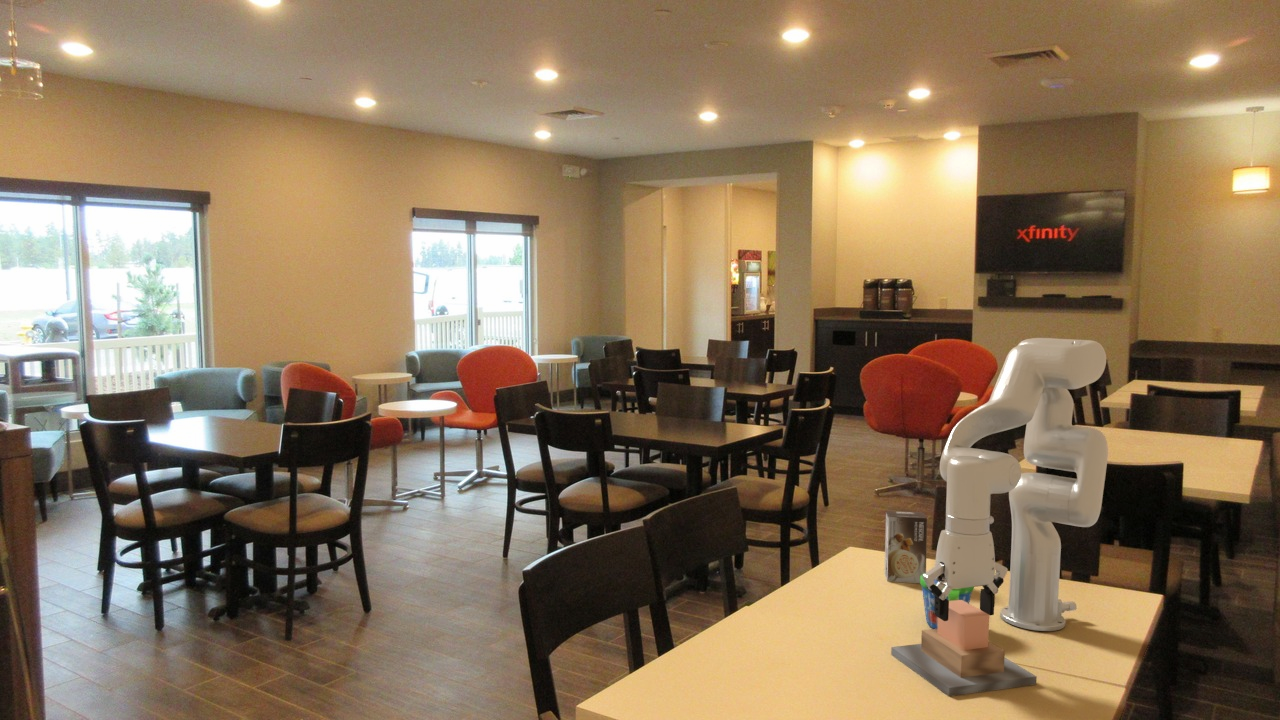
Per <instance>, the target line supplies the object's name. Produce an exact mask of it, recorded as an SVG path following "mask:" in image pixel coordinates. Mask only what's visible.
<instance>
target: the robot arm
mask: <svg viewBox="0 0 1280 720" xmlns="http://www.w3.org/2000/svg"><path fill="white" fill-rule="evenodd" d="M1106 365H1107V354H1106V351H1105V349H1104V347H1103V345H1101V343H1099V342H1098V341H1096V340H1091V339H1090V340H1089V339H1072V338H1071V339H1069V338H1056V337H1055V338H1054V337H1034V338H1033V337H1032V338H1026V339H1024V340H1022V341H1020V342H1019V343H1018V344H1017V345H1016V346H1014V347H1013V348H1011V349H1010V351H1009V352H1008V353H1007V355H1006V357H1005V360H1004V362H1003V366H1002V368H1001V369H1000V373H999V375H998V377H997V380H996V383H995V385H994V387H993V389H992V392H991V394H990V397H989V400H988V401H987V402H986V403H984V404H982V405H980V406H978V407H977V408H974V410H972V411H970V412H969V413H968V414H967V415H966V416H964V417H963V418H961V419H960V420H959V421H958V422H957V423H956V424H955V425H954V427H953V428H952V430H951V432H950V434H949V435H948V438H947V441H946V443H945V446H944V447H943V450H942V452H941V457H940V461H939V473H940V477H941V478H942V480H944V481H945V482H946V498H945V499H946V501H945V525H944V526H945V529H942V530H941V531H940V534H939V537H938V542H937V547H936V553H935V554H936V555H935V562H934V567H932V568H930V569H929V570H928V571H926V573H925V574H924V575H923V579H924V581H925V584H926V585H927V588H928V589H929V590H930V592H931V593H932V594H933V595H934V596H935V604H934V612H935V616H937V617H938V618H940V619H942V620H943V621H948V615H949V600H947V599H946V597H947V596H948V595H949V593H950V592H951V590H952V589H959V588H968V587H974V588H976V587H981V586H982V588H981V589H980V594H979V595H980V596H979V609H980V610H982V611H983V612H985V613H987V614H989V616H994V614H995V601H996V597H995V595H997V594H998V593H999V588H1000V587H1001V586H1002V585H1003V584H1004V582H1005V581H1004V579H1005V577H1006V575H1007V573H1008V570H1009V569H1008V568H1007V566H1004V565H1002V564H1001V563H998V562H996V559H995V558H996V555H995V546H994V545H995V543H994V539H993V535H992V534H993V533H992V531H990V525H992V524H993V523H994V521H995V519H994V516H992V515H991V495H993V494H997V495H998V494H1006V493H1008V501H1009V507H1010V514H1011V544H1010V545H1011V546H1010V547H1011V548H1010V549H1011V550H1010V566H1009V567H1010V570H1009V589H1008V591H1009V592H1008V605H1007V606H1004V607H1003V608H1001V609H1000V618H1001V619H1002V620H1003V621H1004V622H1005V623H1007V624H1010V625H1013V626H1014V627H1018V628H1021V629H1023V630H1024V629H1025V630H1030V631H1037V632H1038V631H1040V632H1055V631H1059V630H1061V629H1064V628H1065V626H1066V619H1065V617H1064V616H1063V613H1065V612H1071V611H1072V612H1073V611H1076V610H1077V604H1076V603H1075V602H1076V601H1073V600H1071V601H1070V600H1069V601H1064V602H1063V601H1062V599H1060V598H1059V591H1060V588H1059V587H1060V570H1061V551H1062V550H1061V549H1062V543H1061V537H1060V535H1059V533H1058V531H1057V529H1056V528H1055V526H1054V524H1053V523H1056V524H1057V523H1058V524H1062V525H1068V526H1074V527H1081V528H1090V527H1092V526H1094V525H1095V524H1096V523H1097V522H1098V520H1099V517H1100V514H1101V511H1102V504H1103V497H1104V496H1103V495H1104V489H1105V481H1106V475H1107V474H1106V473H1107V466H1108V465H1107V464H1108V454H1109V447H1108V441H1107V438H1106V436H1105V434H1104V433H1103V432H1102V431H1101V430H1099V429H1098V428H1095V427H1089V426H1082V425H1080V426H1079V425H1073V424H1072V423H1073V422H1072V421H1073V413H1074V405H1075V404H1074V399H1073V397H1072V394H1071V393H1070V391H1069V390H1078V389H1081V388H1083V387H1085V386H1088V385H1091V384H1093V383H1095V382H1096V381H1098V380H1099V379H1100V378H1101V377H1102V375H1103V373H1104V371H1105V369H1106ZM1024 425H1026V426H1025V434H1024V441H1023V456H1024V459H1025V461H1027V463H1029V464H1031V465H1034V466H1036V467H1041V468H1046V469H1047V468H1048V469H1051V470H1052V469H1054V470H1061V471H1066V472H1074V473H1076V478H1074V477H1073V478H1072V477H1066V476H1059V475H1055V474H1049V473H1048V474H1047V473H1042V472H1022V466H1021V464H1020V462H1019V461H1018V459H1017V458H1016V457H1014V456H1013V455H1011V454H1009V453H1005V452H1001V451H994V450H988V449H982V448H981V449H980V448H973V447H972V446H973V445H974V444H975V443H977V442H978V441H980V440H981V439H982V438H985V437H988V436H990V435H993V434H997V433H1001V432H1005V431H1008V430H1012V429H1016V428H1019V427H1021V426H1024ZM934 580H936V581H938V583H937V584H936V585H935V582H934ZM944 586H945V587H944ZM943 587H944V589H943ZM942 589H943V590H942ZM941 590H942V591H941Z"/></svg>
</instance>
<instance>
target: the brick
mask: <svg viewBox="0 0 1280 720" xmlns="http://www.w3.org/2000/svg"><path fill="white" fill-rule="evenodd" d="M989 631H990V615H989V614H987V613H985V612H983V611H982V610H980V608H978V607H976V606H974V605H972V604H970V603H969V604H968V603H967V602H965V601H963V600H954V601H949V615H948V621H943V620H942V619H940V618H938V630H937V633H938V634H939V635H941V636H943V637H944V638H946V639H947V640H949V641H951V642H952V643H954V644H955V645H957V646H959V647H960V648H962V649H964V650H969V649H977V648H985V647H988V641H989V634H990V633H989Z"/></svg>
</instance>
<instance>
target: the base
mask: <svg viewBox="0 0 1280 720" xmlns="http://www.w3.org/2000/svg"><path fill="white" fill-rule="evenodd" d="M937 630H938V629H935V628H931V629H923V630H921V641H920V642H921V643H916V644H908V645H907V644H906V645H897V646H891V651H890V655H891V656H892V657H893V658H895V659H896V660H898V661H899V662H901V663H902V664H904V665H905V666H906V667H908V668H909V669H910V670H912V671H913V672H914V673H916V674H917V675H919V676H920V677H921V678H923V679H925V680H926V681H927V682H928V683H930V684H931V685H932V686H934V687H935V688H937V690H939V691H941V692H942V693H943V694H945V695H947V697H954V696H961V695H969V694H975V693H983V692H985V693H986V692H991V691H998V690H1006V689H1013V688H1019V687H1029V686H1034V685H1035V686H1036V685H1037V675H1035V674H1033V673H1031V671H1028V670H1027V669H1025V668H1023V667H1021V666H1020V665H1018V664H1017V663H1015V662H1013V661H1011V660H1010V659H1008V658H1007V657H1005V654H1006V653H1005V652H1006V651H1005V649H1003V648H1001V647H999V646H998V645H997V644H995V643H993V642H991V641H990V640H988V647H985V648H977V649H969V650H964V649H962V648H960V647H959V646H957V645H955V644H954V643H952V642H951V641H949V640H947V639H946V638H944V637H943V636H941V635H939V634H938V633H937Z"/></svg>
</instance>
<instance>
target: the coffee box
mask: <svg viewBox="0 0 1280 720" xmlns="http://www.w3.org/2000/svg"><path fill="white" fill-rule="evenodd" d="M884 537H885V538H884V539H885V542H884V546H885V547H884V577H885V579H886V581H887V582H888V581H890V582H889V583H891V582H892V583H906V584H907V583H908V584H912V583H913V584H920V577H921V575H922V574H924V573H926V572H927V551H928V550H927V548H928V547H927V546H928V545H927V543H928V541H927V540H928V539H927V538H928V518H927V516H926V514H924V512H922V511H906V510H905V511H904V510H902V511H901V510H885V536H884Z"/></svg>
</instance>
